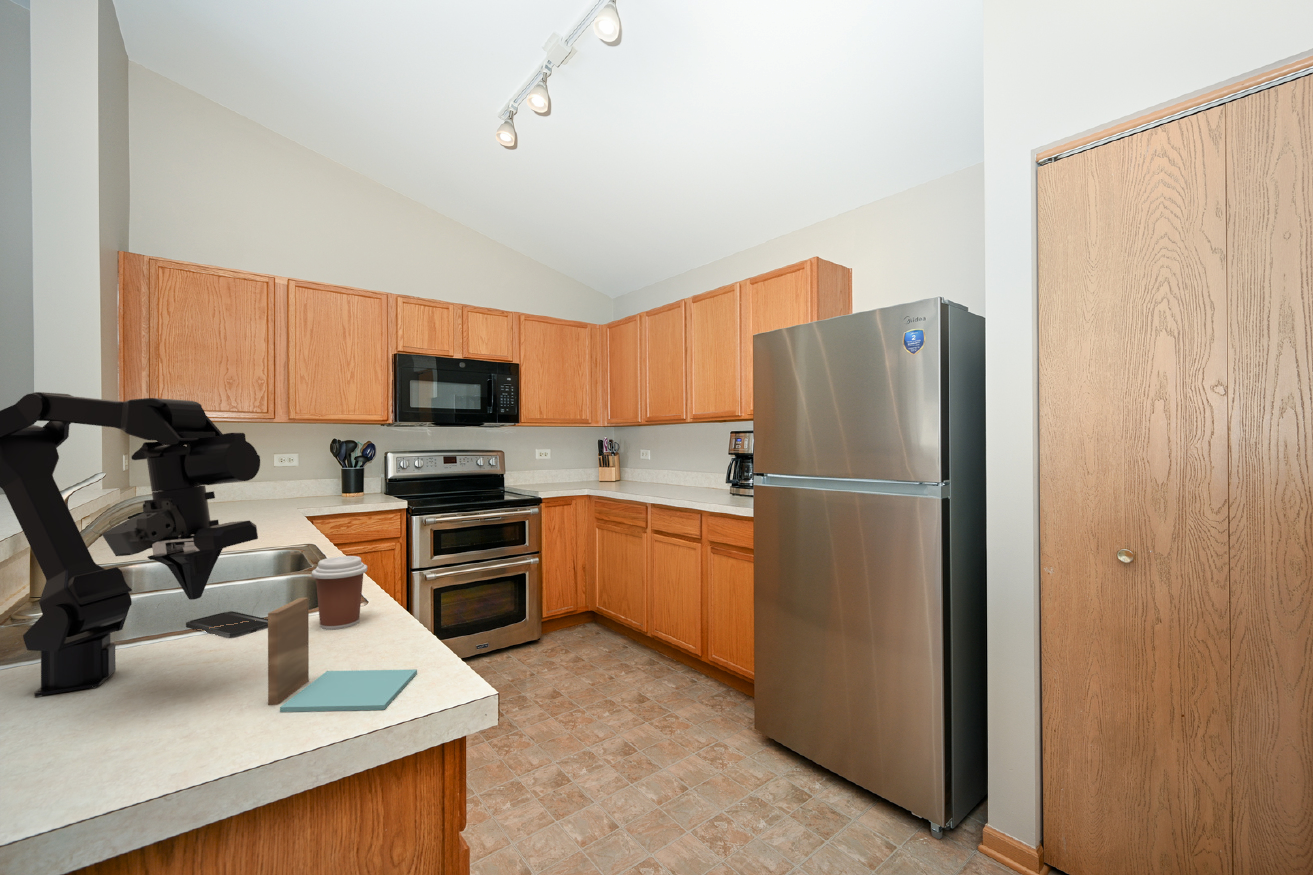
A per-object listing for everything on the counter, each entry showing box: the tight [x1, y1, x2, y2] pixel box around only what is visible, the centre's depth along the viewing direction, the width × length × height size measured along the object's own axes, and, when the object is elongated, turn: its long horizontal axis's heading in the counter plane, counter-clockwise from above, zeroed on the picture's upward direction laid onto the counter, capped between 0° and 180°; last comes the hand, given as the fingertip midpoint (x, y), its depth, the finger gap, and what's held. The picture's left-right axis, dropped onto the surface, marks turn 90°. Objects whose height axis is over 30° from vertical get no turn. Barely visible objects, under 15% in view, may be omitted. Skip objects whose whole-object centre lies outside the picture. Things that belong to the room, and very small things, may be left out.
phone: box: [185, 610, 268, 639], centre depth 103 cm, size 8×1×15 cm
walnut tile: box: [267, 597, 310, 706], centre depth 76 cm, size 1×7×12 cm, turn 3°
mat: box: [279, 669, 418, 713], centre depth 77 cm, size 13×11×1 cm
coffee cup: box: [311, 555, 368, 631], centre depth 104 cm, size 9×9×12 cm
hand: (195, 598), depth 78 cm, fingers closed
